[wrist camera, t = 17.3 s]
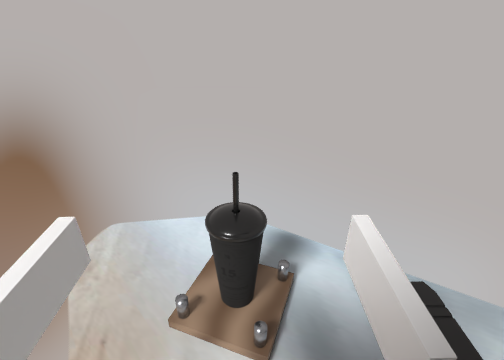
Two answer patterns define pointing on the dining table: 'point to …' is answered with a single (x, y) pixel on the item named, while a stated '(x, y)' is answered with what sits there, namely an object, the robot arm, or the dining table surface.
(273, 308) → the peg board
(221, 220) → the drinking cup
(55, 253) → the robot arm
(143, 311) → the dining table surface
